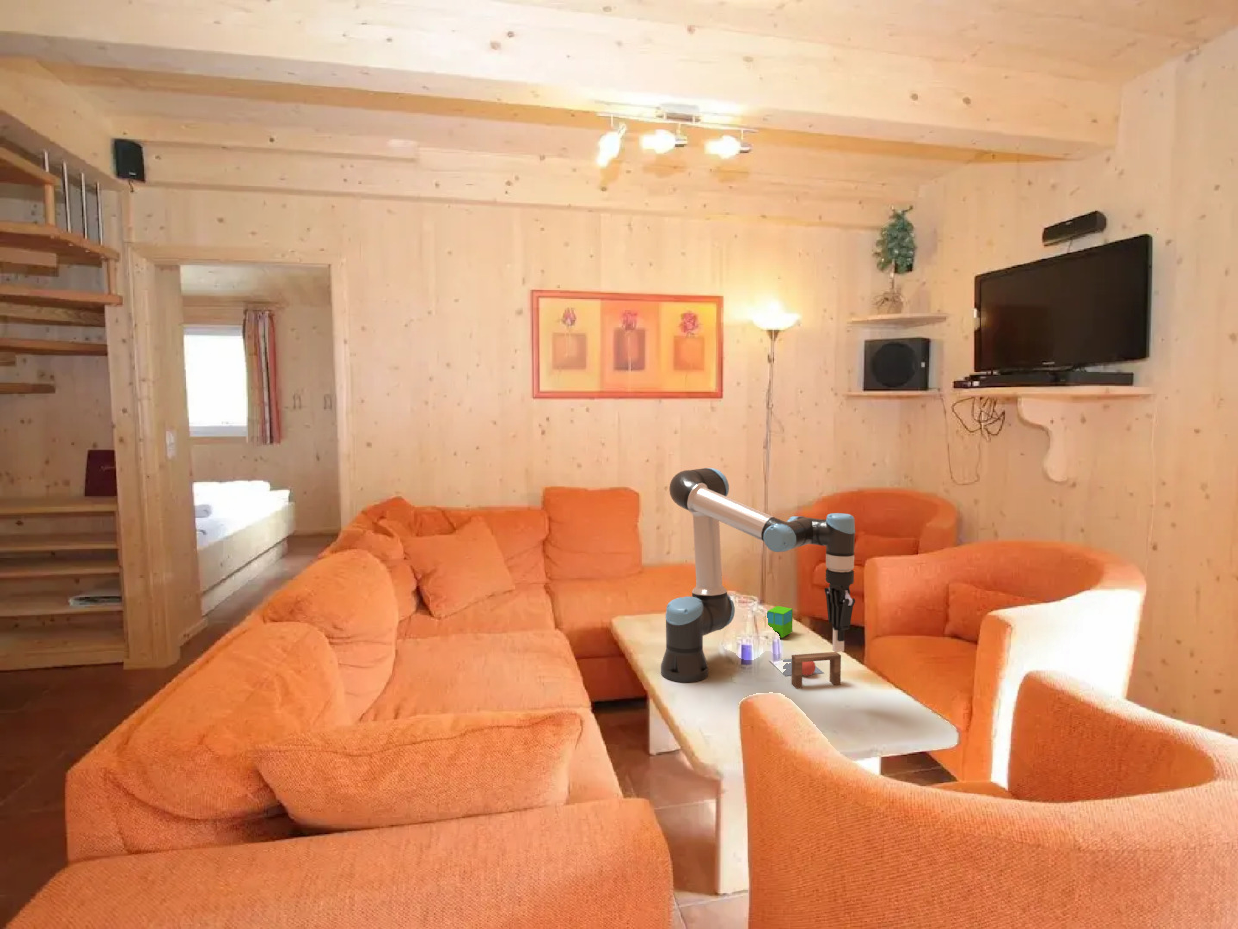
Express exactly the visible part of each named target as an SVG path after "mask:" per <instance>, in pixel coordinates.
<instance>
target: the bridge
mask: <svg viewBox="0 0 1238 929" xmlns="http://www.w3.org/2000/svg"><path fill="white" fill-rule="evenodd" d="M841 658H842V655H841V654H840V653H839V652H834V651H829V652H816V653H812V652H811V653H805V654H804V653H803V654H802V653H801V654H791V659H792V676H791V679H790V680H791V682H790V683H791V684H790V685H791V686H792V687H793V688H795V689H802V688H803V675H802V662H810V661H813V662H821V661H823V662H824V661H829V682H830V684H832V685H833V686H840V685H841V672H842V671H841V668H842V659H841Z"/></svg>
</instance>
